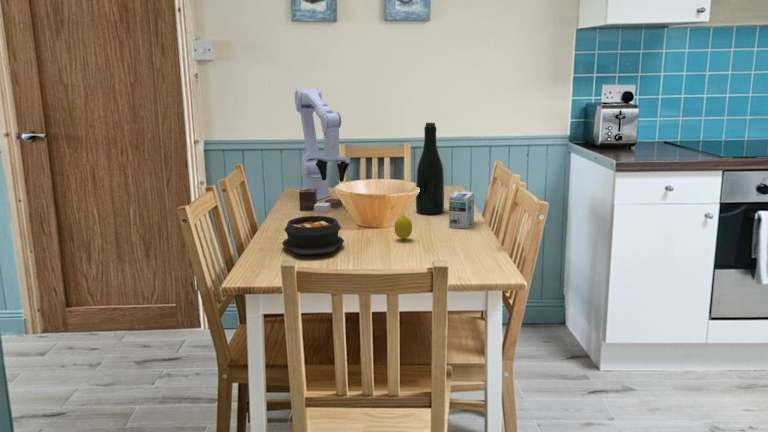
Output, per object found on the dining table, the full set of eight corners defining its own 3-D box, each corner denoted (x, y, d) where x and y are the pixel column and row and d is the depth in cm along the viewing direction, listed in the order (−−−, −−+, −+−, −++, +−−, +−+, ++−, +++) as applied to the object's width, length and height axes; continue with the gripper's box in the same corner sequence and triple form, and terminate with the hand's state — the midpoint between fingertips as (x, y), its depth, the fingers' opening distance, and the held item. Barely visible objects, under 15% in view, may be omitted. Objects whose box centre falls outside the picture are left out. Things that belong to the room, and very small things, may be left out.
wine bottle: (409, 211, 243) (409, 122, 235) (430, 207, 249) (430, 120, 241) (429, 216, 235) (429, 124, 227) (450, 212, 241) (451, 122, 234)
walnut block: (331, 205, 256) (331, 198, 255) (342, 206, 253) (342, 199, 253) (325, 208, 251) (324, 200, 251) (336, 209, 249) (335, 201, 248)
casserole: (347, 258, 188) (346, 230, 186) (282, 262, 186) (280, 233, 184) (341, 235, 212) (340, 210, 210) (283, 238, 210) (281, 213, 208)
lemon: (407, 236, 209) (407, 212, 207) (414, 241, 204) (414, 216, 202) (391, 238, 207) (391, 214, 206) (398, 243, 202) (398, 218, 201)
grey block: (318, 210, 248) (317, 202, 248) (330, 210, 247) (330, 202, 247) (314, 213, 244) (313, 205, 243) (326, 213, 243) (326, 205, 242)
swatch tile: (319, 202, 261) (319, 201, 260) (332, 203, 258) (332, 202, 258) (311, 205, 255) (311, 204, 255) (324, 206, 253) (324, 205, 253)
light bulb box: (468, 229, 218) (468, 197, 215) (448, 227, 220) (448, 196, 217) (474, 221, 228) (474, 191, 225) (455, 220, 230) (455, 190, 227)
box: (315, 210, 247) (314, 191, 245) (299, 210, 247) (298, 191, 245) (317, 207, 253) (316, 188, 251) (301, 207, 253) (301, 188, 251)
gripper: (309, 145, 246) (311, 181, 249) (343, 147, 239) (344, 183, 243) (319, 143, 252) (320, 178, 255) (352, 145, 245) (353, 180, 249)
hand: (332, 180), depth 249 cm, fingers open, 7 cm apart
